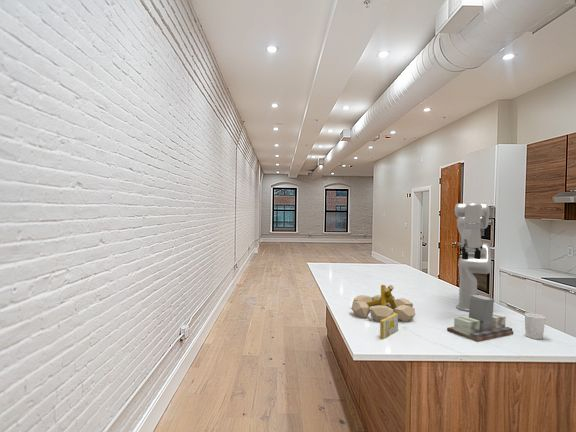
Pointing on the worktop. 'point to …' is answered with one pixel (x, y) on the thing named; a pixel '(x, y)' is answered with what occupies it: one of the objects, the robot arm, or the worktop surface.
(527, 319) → the white cup
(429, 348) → the worktop surface
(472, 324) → the board
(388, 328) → the candy box
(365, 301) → the campfire
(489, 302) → the skincare box
